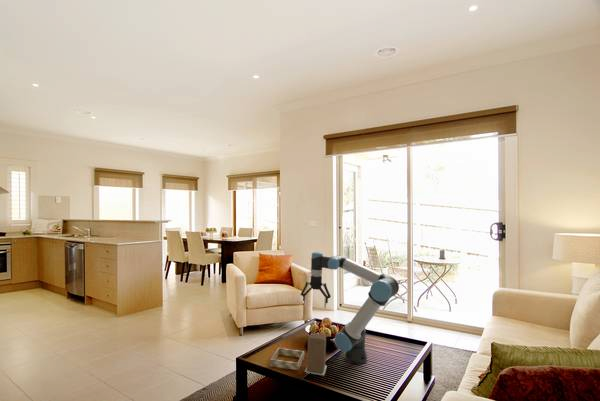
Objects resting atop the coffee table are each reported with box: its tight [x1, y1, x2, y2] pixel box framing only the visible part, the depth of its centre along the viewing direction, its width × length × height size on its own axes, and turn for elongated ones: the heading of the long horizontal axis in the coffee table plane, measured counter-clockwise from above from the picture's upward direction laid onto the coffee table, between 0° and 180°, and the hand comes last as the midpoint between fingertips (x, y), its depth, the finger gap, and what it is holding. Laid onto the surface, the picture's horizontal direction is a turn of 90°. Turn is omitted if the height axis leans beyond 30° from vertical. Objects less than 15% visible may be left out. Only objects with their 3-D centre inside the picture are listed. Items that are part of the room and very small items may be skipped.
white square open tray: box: [269, 347, 305, 371], centre depth 210 cm, size 18×18×4 cm
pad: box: [304, 364, 328, 376], centre depth 202 cm, size 12×12×1 cm
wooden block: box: [306, 332, 327, 373], centre depth 202 cm, size 10×10×20 cm
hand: (315, 307), depth 223 cm, fingers open, 13 cm apart
